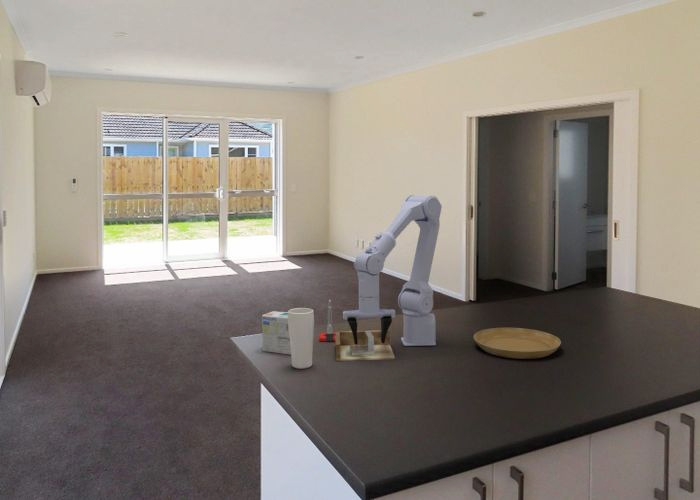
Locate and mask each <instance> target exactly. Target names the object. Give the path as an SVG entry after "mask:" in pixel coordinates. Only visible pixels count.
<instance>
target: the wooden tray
mask: <svg viewBox="0 0 700 500" xmlns="http://www.w3.org/2000/svg"><path fill="white" fill-rule="evenodd" d="M365 331H366V330H357V340H358V345H365ZM370 331H371V333H372V335H373V337H374V345H390V346H391V330H389V329H388V331H387V334H386V338H385V343H382V342H381V329H380V330H378V329H377V330H375V329H374V330H370ZM334 332H336V336H335V337H336V342H335V360H336V359H340V346H343V345H355V343H354V337H353V333H352V330H342V331H341V330H339V331H337V330H336V331H334Z"/></svg>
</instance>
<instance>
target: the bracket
mask: <svg viewBox="0 0 700 500" xmlns="http://www.w3.org/2000/svg"><path fill="white" fill-rule="evenodd" d="M364 331H365V345H360V346H350V351H351V353H352V356H361V355H374V337H373V335H372V333H371V331H372V330H364Z"/></svg>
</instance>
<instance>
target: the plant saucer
mask: <svg viewBox="0 0 700 500" xmlns="http://www.w3.org/2000/svg"><path fill="white" fill-rule="evenodd" d="M473 339H474V341H475V343H476V344H477V346H478V347H480V349H482V350H483V351H484V352H486V353H488V354H491V355H494V356H497V357H503V358H506V359H507V358H508V359H519V360H520V359H521V360H523V359H524V360H527V359H528V360H529V359H531V360H532V359H541V358H545V357H548V356H550V355H551V354H553V353H555V352H556V351H557V350H558V349H559V348H560V347H561V344H562V341H561V339H560V338H559V337H558V336H555V335H553V334H551V333H549V332H545V331H541V330H537V329H531V328H521V327H495V328H494V327H493V328H486V329H482V330H479V331H477V332H475V333H474V335H473Z"/></svg>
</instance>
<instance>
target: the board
mask: <svg viewBox="0 0 700 500" xmlns="http://www.w3.org/2000/svg"><path fill="white" fill-rule="evenodd" d="M350 346H360V345H343V346H340V359H336V358H335V362H336V361H337V362H340V361H341V362H342V361H344V362H345V361H380V360H381V361H384V360H385V361H386V360H387V361H388V360H395V359H396V358H395V354H394V352H393V349H392V347H391V344H390V345H374V355H361V356H352V353H351V351H350Z"/></svg>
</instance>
